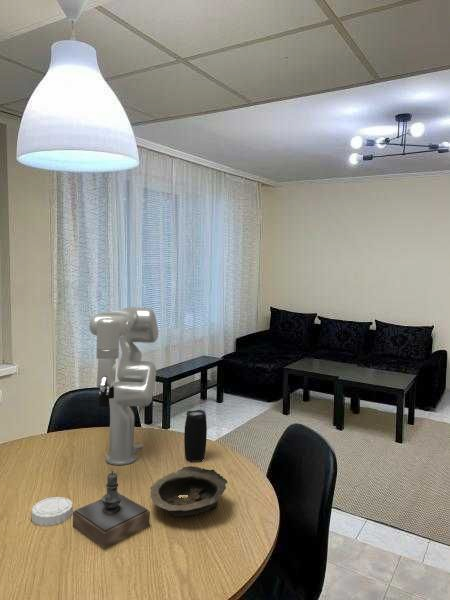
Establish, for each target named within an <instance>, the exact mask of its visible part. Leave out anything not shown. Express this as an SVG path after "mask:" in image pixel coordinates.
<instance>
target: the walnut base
mask: <svg viewBox="0 0 450 600" xmlns="http://www.w3.org/2000/svg"><path fill="white" fill-rule="evenodd" d="M117 493H118V494H120V495H121V496H122V499H121V501H120V504H119V506H120V507H121V510H120V511H119V512H117V513H114V514H106V513H104V512H103V508H104V507H105V506H104V504H103V501H102V498H100V499H98V500H96V501H93V502H91V503H89V504H87V505H84V506H82V507H79V508H77V509H75V510H73V512H72V527H73V528H74V529H75V530H77V531H78V532H80V533H81V534H82V535H84V536H85V537H86V538H88V539H89V540H91V541H92V542H93V543H95V544H96V545H97V544H98V546H99V547H100V548H102V549H103V550H106V549H107V547H108V548H109V546H110V547H111V546H113V545H115V544H117V543H119V542H121V541H123V540H124V539H127V538H129V537H130V536H133V535H134V534H136V533H138V532H140V531H142V530H144V529H145V528H148V527H149V525H150V522H151V521H150V520H151V519H150V518H151V515H150V513H151V511H150V510H149V509H147V508H146V507H144V506H142V505H140V504H139V503H138V502H135V501H134V500H131V499H130V498H128V497H126V496H125V495H123V494H121V493H120V492H118V491H117ZM147 526H148V527H147ZM139 530H140V531H139ZM105 548H106V549H105Z"/></svg>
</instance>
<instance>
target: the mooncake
mask: <svg viewBox="0 0 450 600" xmlns="http://www.w3.org/2000/svg"><path fill="white" fill-rule="evenodd" d="M73 508H74V503H73V501H72V500H71V499H69V498H68V497H66V498H65V497H63V496H56V497H54V496H51V497H48V498H46V497H45V498H44V499H42V500H39V501H38V502H35V504H34V505H33V506H32V507H31V517H30V518H31V520H32V521H31V522H32V523H34V524H35V525H38V526H41V527H42V526H44V527H49V526H51V527H52V526H55V525H60V524H62V523H65V522H67V520H69V519H71V517H73V511H74V509H73Z"/></svg>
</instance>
